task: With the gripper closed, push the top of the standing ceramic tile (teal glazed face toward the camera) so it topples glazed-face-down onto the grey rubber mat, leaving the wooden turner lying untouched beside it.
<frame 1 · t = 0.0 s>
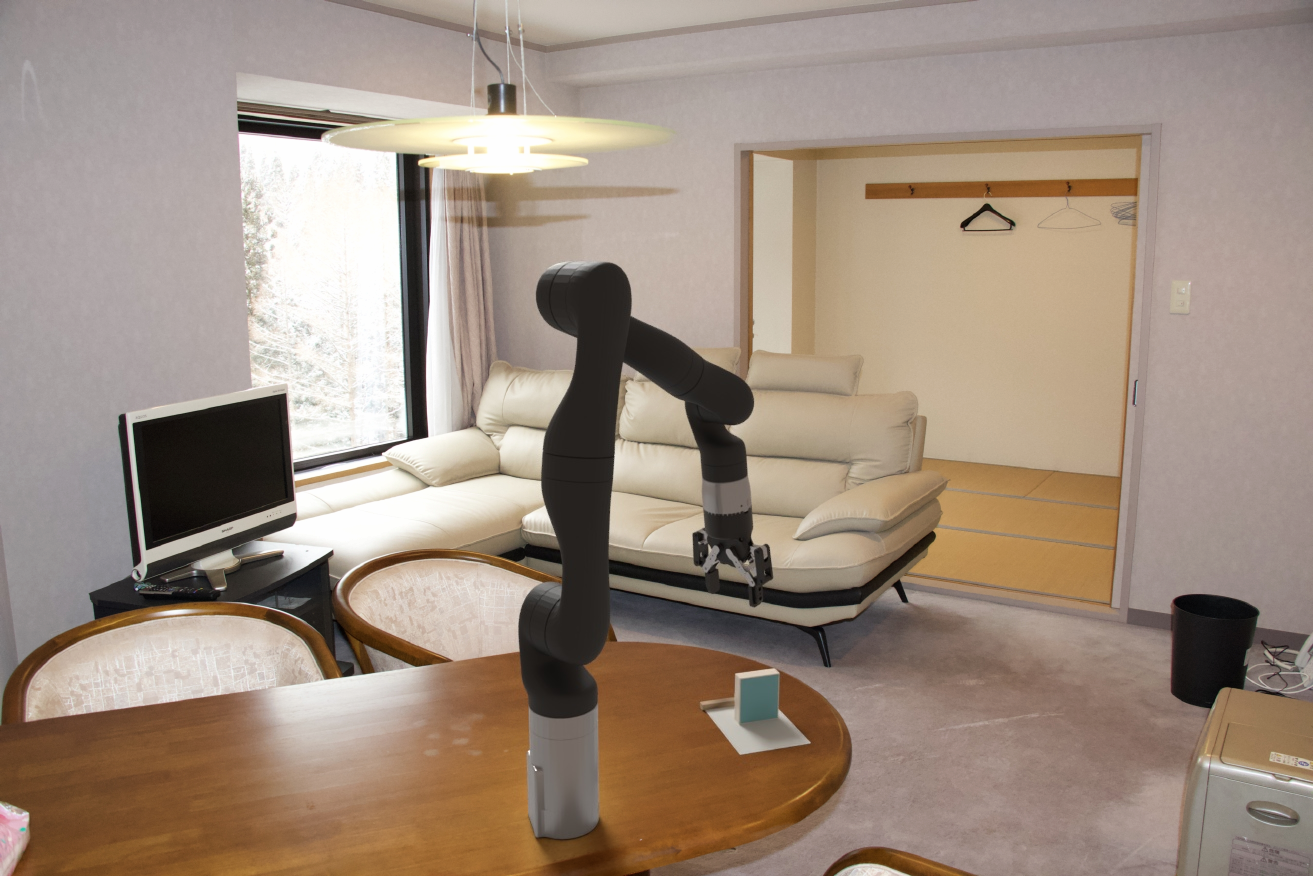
hand: (734, 598, 153), 22 cm above the table, tool pointing down, fingers open, 8 cm apart
tile: (756, 718, 159), point 1 cm above the table, touching mat
turner: (736, 703, 165), point 1 cm above the table, touching mat
mat: (753, 725, 158), on the table
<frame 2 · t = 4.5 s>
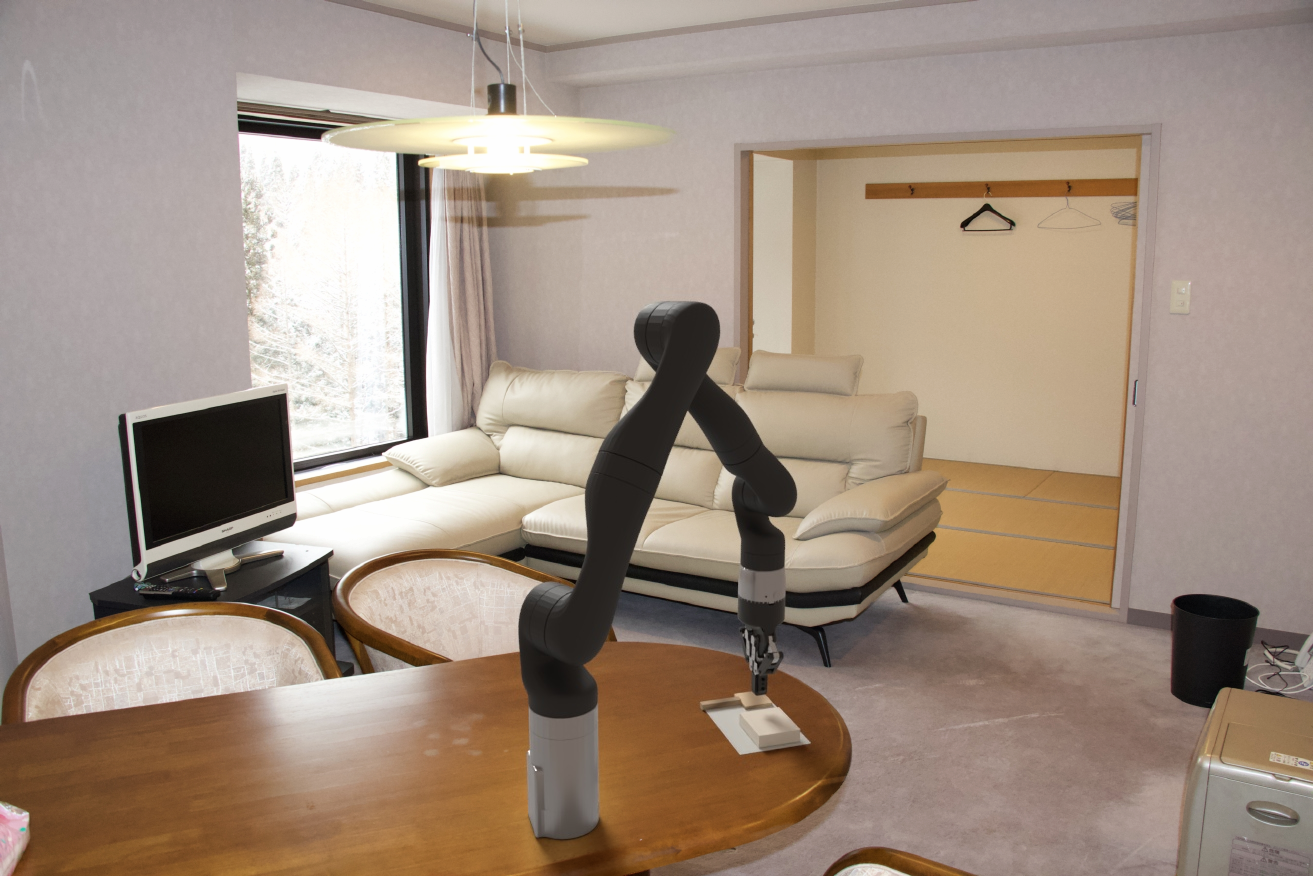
hand: (759, 693, 157), 6 cm above the table, tool pointing down, fingers closed
tile: (759, 715, 158), point 2 cm above the table, tilted 90°, touching mat
everything else where it was.
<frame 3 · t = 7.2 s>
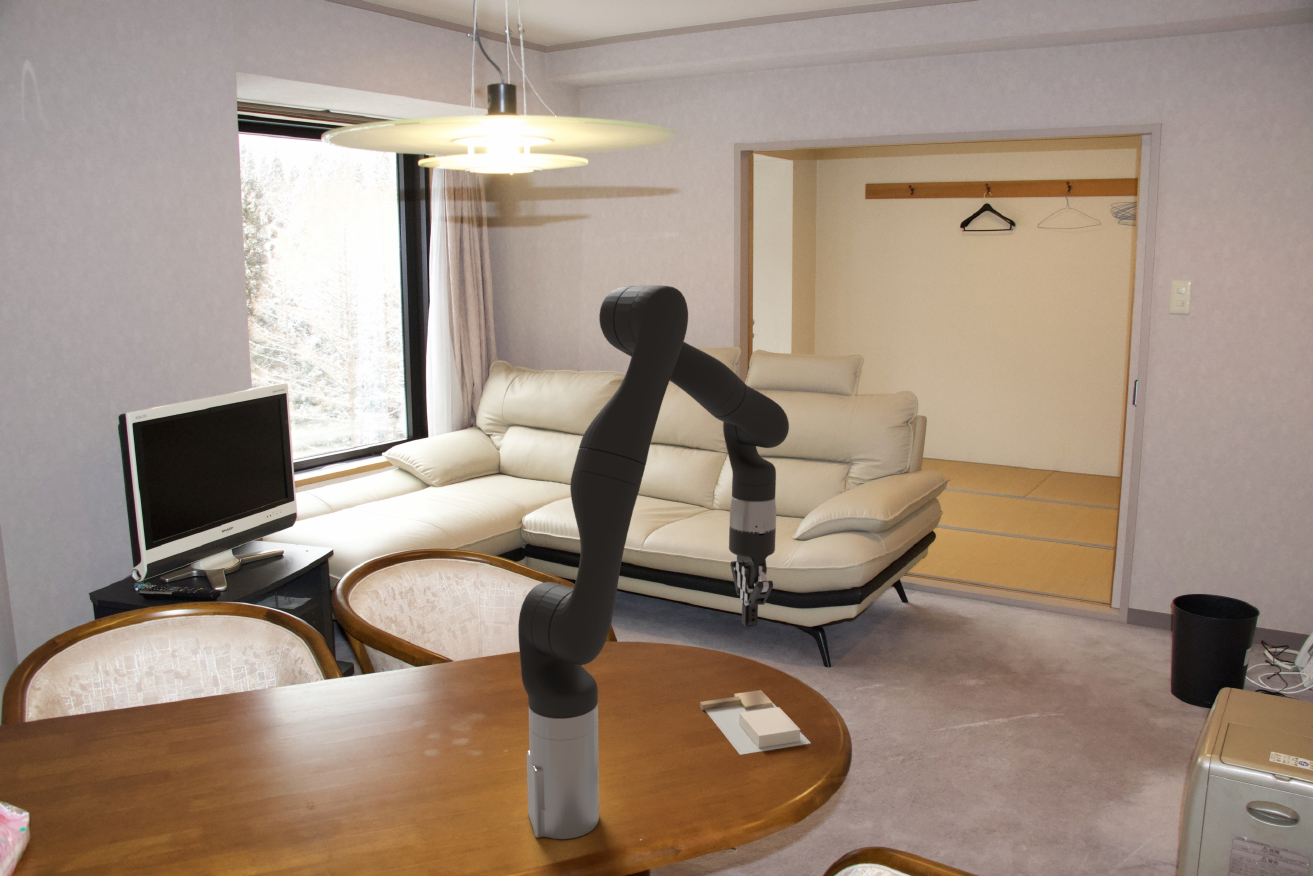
hand: (749, 625, 160), 15 cm above the table, tool pointing down, fingers closed
nothing on the table moved.
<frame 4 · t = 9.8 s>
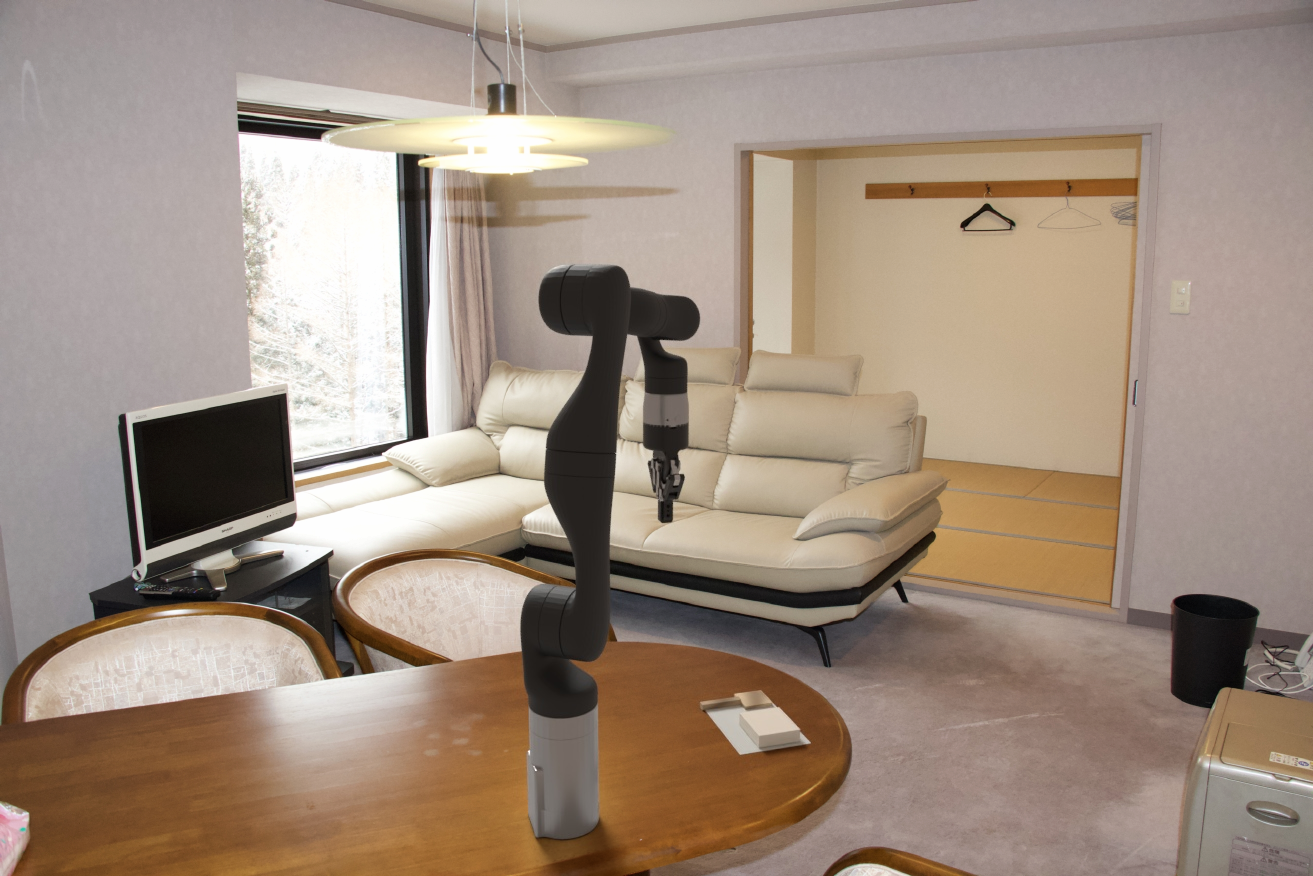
hand: (665, 521, 161), 32 cm above the table, tool pointing down, fingers closed
nothing on the table moved.
at the end: tile tilted 90°; tile inside the target area on the mat (2.6 cm from its centre), point 1.7 cm above the mat's base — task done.
